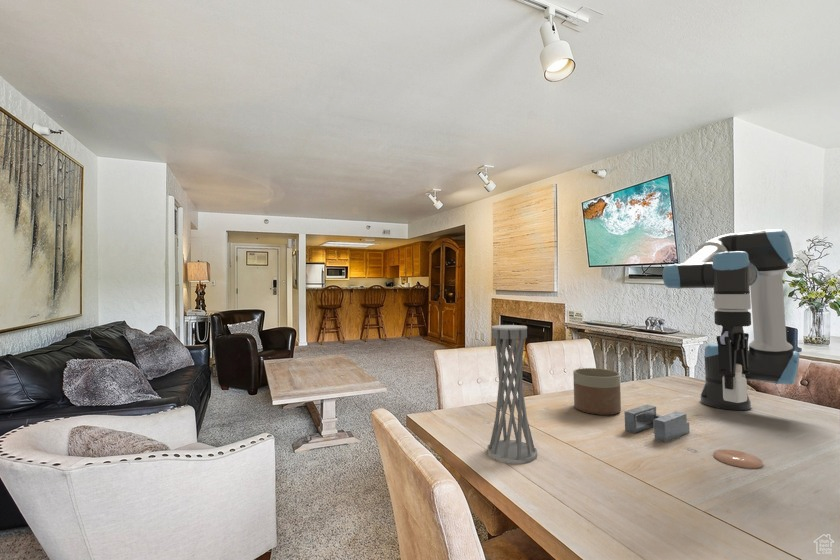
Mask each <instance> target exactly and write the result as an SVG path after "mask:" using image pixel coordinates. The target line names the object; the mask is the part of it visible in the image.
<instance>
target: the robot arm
mask: <svg viewBox="0 0 840 560" xmlns="http://www.w3.org/2000/svg"><path fill="white" fill-rule="evenodd" d="M793 252H794V251H793V247H792V243H791V238H790V236H789V235H788V233H787V231H785V230H784V229H763V230H754V231H746V232H745V231H743V232H734V233H733V232H732V233H726V234H722V235H719V236H716V237H713V238H711V239H709V240H707V241H705V242H703V243H702V244H700V245H699V246H698V247H697V249H696V251H695V253H692V255H690V256H688V258H686V259H685V260H683V261H682V262H681V263H674V264H673V263H672V264H671V263H670V264H667V265H665V266H664V268H663V270H662V281H663V284H664V286H665V287H667V288H668V289H677V290H679V289H712V288H713V297H712V299H711V301H713V303H714V304H713V305H714V309H716V311H714V313H713V314H714V324H715V325H716V326H721V327H722V328H721V333H720V335H717V336H716V339H715V340H716V343H711V344H707V345H706V346H705V347H704V355H703V358H704V375H705V376H704V378H705V379H704V381H705V382H704V385H703V388H702V391H701V393H700V403H701V404H703V405H706V406H709V407H713V408H715V409H716V408H717V409H723V410H729V411H748V410H750V409H752V402H751V399H750V397H749V395H748V393H747V401H745V402H741V403H738V387H737V377H735V370H736V364H740V365H742V377H744V378H746V379H747V381H755V382H762V383H771V384H776V385H779V384H780V385H787V386H789V385H793V384H795V382H796V380H797V376H798V370H799V364H800V363H799V362H800V352H799V351H796V350H794V346H793V345H792V344H791V343H790V342H788V341H787V328H786V327H787V326H786V313H785V297H784V285H783V284H784V282H783V281H784V280H783V273H784V272H785V271H787V270H788V269H789V267H788V265H790V264H792V263H794V253H793ZM749 310H751V312H750V311H749ZM751 325H752V328H753V329H752V331H753V340H752V341H751V342H749V336H750V334H749V333H748V332H745V330H744V327H750V326H751ZM723 380H724V399H723Z"/></svg>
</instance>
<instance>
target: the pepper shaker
mask: <svg viewBox="0 0 840 560" xmlns="http://www.w3.org/2000/svg"><path fill="white" fill-rule="evenodd" d="M735 377H737V387H738V403H741V402H745V401H747V394H748V386H747V385H748V382H747V381H748V380H747V379H746V378H744V377H742V365H740V364H736V370H735ZM723 399H724V380H723Z"/></svg>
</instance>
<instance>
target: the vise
mask: <svg viewBox="0 0 840 560" xmlns="http://www.w3.org/2000/svg"><path fill="white" fill-rule="evenodd" d="M687 420H688V419H687V413H684V412H681V411H676V410H675V411H672V412H670V413H667V414H664V415H661V414H658V413H657V407H656V406H655V405H652V404H643V405H641V406H638V407H635V408H631V409H628V410H625V411H624V431H626V432H628V433H632V434H637V433H639V432H642V431H644V430H648V429H650V428H653V434H654V440H655V441H658V442H662V443H669V442H670V441H673V440H675V439H677V438H680V437H682V436H684V435H687V434H689V433H690V422H689V421H687Z"/></svg>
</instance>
